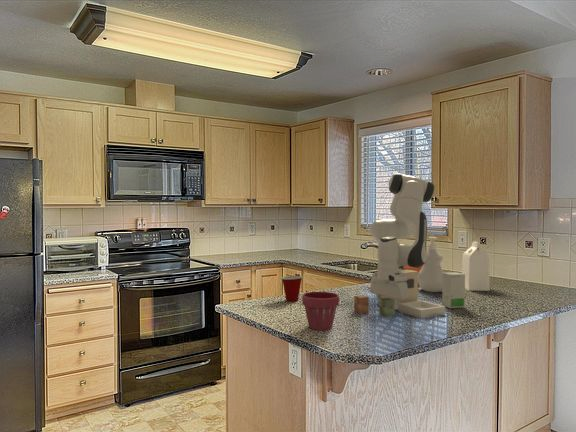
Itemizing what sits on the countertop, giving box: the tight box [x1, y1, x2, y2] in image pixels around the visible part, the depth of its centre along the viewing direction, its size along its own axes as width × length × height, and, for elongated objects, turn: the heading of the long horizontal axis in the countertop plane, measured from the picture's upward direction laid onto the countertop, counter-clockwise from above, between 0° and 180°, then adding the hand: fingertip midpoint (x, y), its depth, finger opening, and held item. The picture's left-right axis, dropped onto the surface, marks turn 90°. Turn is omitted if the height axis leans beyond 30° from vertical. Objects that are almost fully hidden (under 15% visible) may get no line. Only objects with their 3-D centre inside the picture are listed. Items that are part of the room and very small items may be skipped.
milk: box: [461, 241, 491, 292], centre depth 258 cm, size 12×12×26 cm
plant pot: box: [301, 291, 340, 331], centre depth 180 cm, size 14×14×13 cm
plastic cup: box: [280, 275, 303, 303], centre depth 228 cm, size 11×11×12 cm
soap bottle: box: [418, 236, 445, 293], centre depth 250 cm, size 17×12×29 cm
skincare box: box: [441, 271, 466, 309], centre depth 215 cm, size 8×7×16 cm
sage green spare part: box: [378, 298, 396, 318], centre depth 199 cm, size 4×4×7 cm
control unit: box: [376, 270, 419, 311], centre depth 215 cm, size 10×18×16 cm, turn 118°
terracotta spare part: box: [353, 294, 370, 315], centre depth 205 cm, size 4×4×7 cm
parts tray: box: [397, 299, 446, 319], centre depth 203 cm, size 14×14×4 cm
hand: (387, 306), depth 198 cm, fingers open, 8 cm apart
